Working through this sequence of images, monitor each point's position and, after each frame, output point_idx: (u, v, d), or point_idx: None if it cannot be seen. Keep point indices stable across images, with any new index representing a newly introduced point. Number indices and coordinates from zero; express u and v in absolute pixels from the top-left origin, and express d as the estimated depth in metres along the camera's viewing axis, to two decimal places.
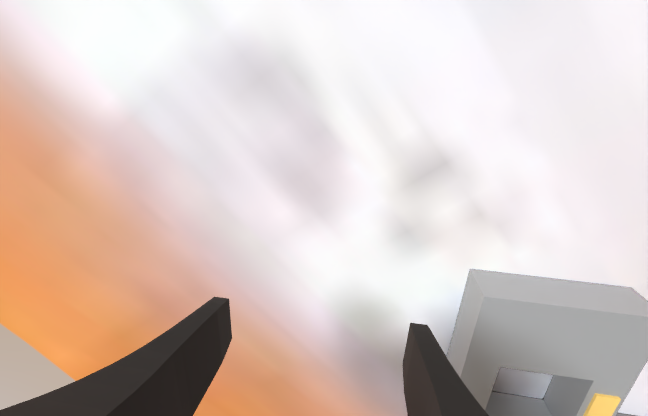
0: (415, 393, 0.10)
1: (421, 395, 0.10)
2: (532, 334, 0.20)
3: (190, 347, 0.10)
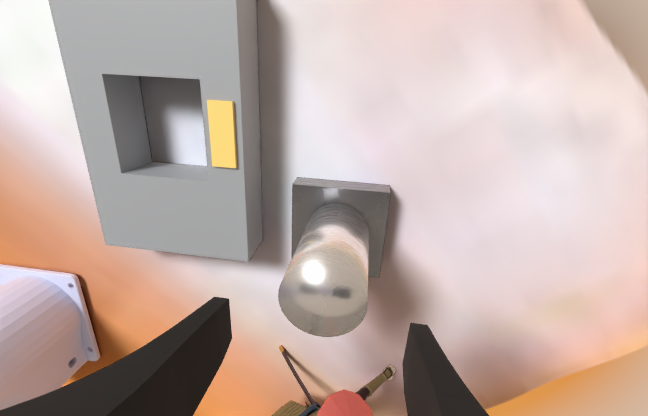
0: (415, 393, 0.10)
1: (421, 395, 0.10)
2: (109, 12, 0.16)
3: (190, 347, 0.10)
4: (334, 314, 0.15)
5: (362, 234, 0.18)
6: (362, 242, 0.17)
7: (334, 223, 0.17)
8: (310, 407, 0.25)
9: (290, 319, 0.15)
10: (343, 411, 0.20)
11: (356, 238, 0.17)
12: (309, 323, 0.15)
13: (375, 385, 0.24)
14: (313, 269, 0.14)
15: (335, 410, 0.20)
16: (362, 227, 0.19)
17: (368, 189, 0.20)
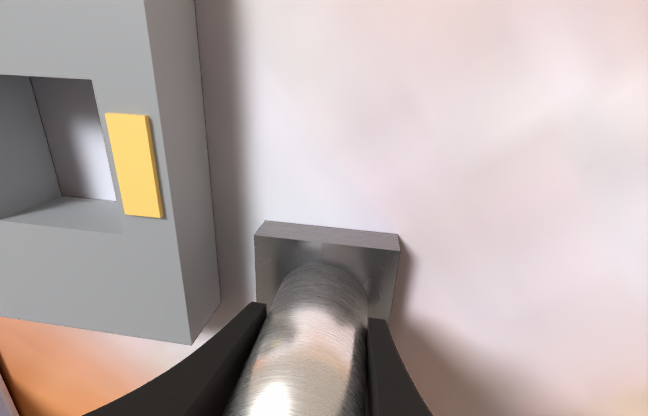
0: (367, 386, 0.11)
1: (370, 387, 0.10)
2: None
3: (236, 354, 0.10)
4: None
5: (357, 323, 0.11)
6: (356, 343, 0.11)
7: (312, 310, 0.11)
8: None
9: None
10: None
11: (347, 340, 0.10)
12: None
13: None
14: None
15: None
16: (357, 307, 0.12)
17: (366, 244, 0.13)
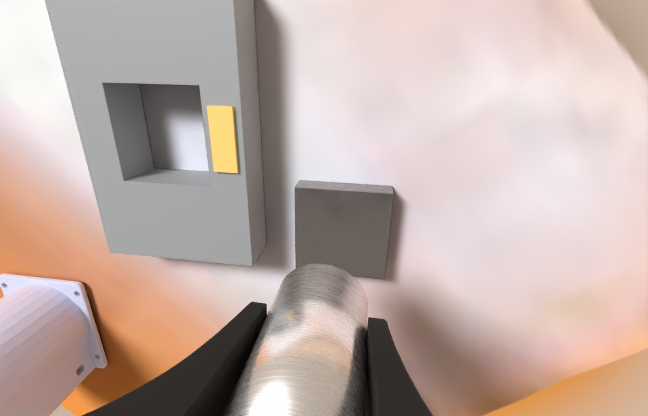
0: (367, 386, 0.11)
1: (370, 387, 0.10)
2: (108, 21, 0.16)
3: (236, 354, 0.10)
4: None
5: (357, 323, 0.11)
6: (356, 343, 0.11)
7: (312, 310, 0.11)
8: None
9: None
10: None
11: (347, 339, 0.10)
12: None
13: None
14: None
15: None
16: (357, 307, 0.12)
17: (371, 191, 0.20)
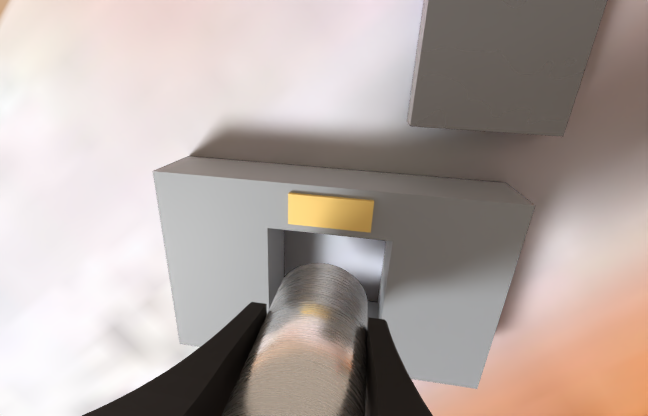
0: (367, 386, 0.11)
1: (370, 387, 0.10)
2: (213, 300, 0.17)
3: (236, 354, 0.10)
4: None
5: (356, 322, 0.11)
6: (356, 342, 0.11)
7: (311, 309, 0.11)
8: None
9: None
10: None
11: (347, 339, 0.10)
12: None
13: None
14: None
15: None
16: (357, 306, 0.12)
17: None
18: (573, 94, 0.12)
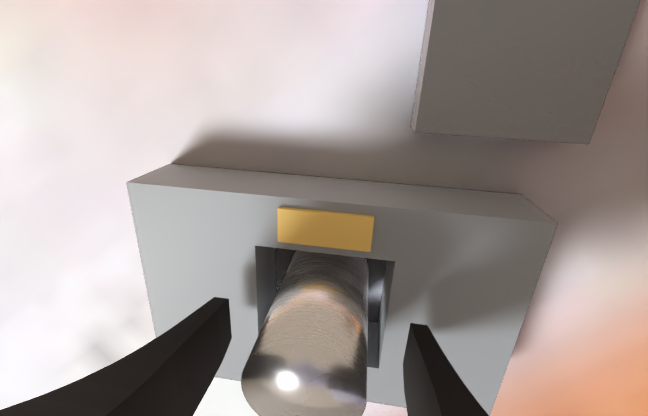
0: (415, 393, 0.10)
1: (421, 395, 0.10)
2: None
3: (190, 347, 0.10)
4: (320, 409, 0.10)
5: (360, 281, 0.14)
6: (359, 295, 0.13)
7: (323, 268, 0.13)
8: None
9: (259, 413, 0.11)
10: None
11: (352, 290, 0.13)
12: None
13: None
14: (288, 352, 0.10)
15: None
16: (360, 269, 0.14)
17: None
18: (602, 96, 0.11)
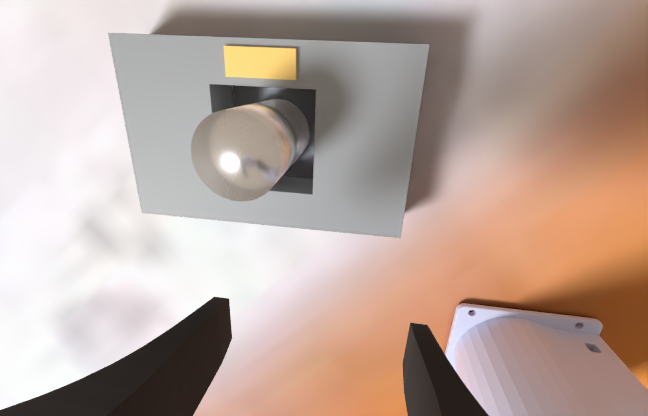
0: (415, 393, 0.10)
1: (421, 395, 0.10)
2: (168, 164, 0.19)
3: (190, 347, 0.10)
4: (249, 173, 0.14)
5: (293, 117, 0.17)
6: (290, 120, 0.17)
7: (262, 102, 0.17)
8: None
9: (206, 183, 0.15)
10: None
11: (282, 113, 0.16)
12: (225, 186, 0.14)
13: None
14: (222, 118, 0.13)
15: None
16: (296, 115, 0.18)
17: None
18: None
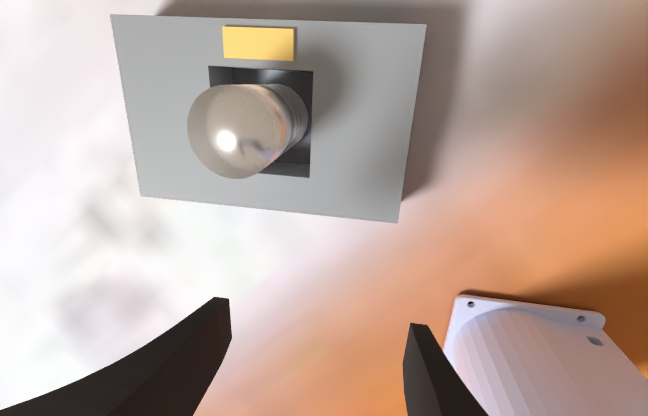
0: (415, 393, 0.10)
1: (421, 395, 0.10)
2: (167, 146, 0.19)
3: (190, 347, 0.10)
4: (244, 149, 0.14)
5: (291, 100, 0.18)
6: (287, 101, 0.17)
7: (260, 84, 0.17)
8: None
9: (202, 160, 0.15)
10: None
11: (280, 94, 0.16)
12: (221, 163, 0.15)
13: None
14: (217, 94, 0.13)
15: None
16: (294, 98, 0.18)
17: None
18: None
